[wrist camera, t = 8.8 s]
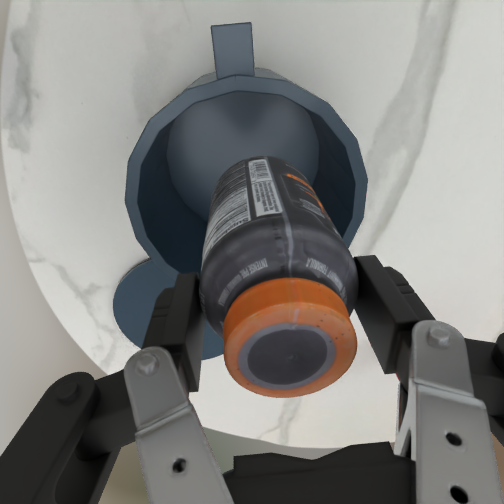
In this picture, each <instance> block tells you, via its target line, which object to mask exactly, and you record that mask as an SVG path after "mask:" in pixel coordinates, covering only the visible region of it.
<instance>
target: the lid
mask: <svg viewBox="0 0 504 504" xmlns="http://www.w3.org/2000/svg"><path fill="white" fill-rule="evenodd" d="M175 282H176V281H175V280H174V279H173V278H171V277H170V276H168V275H167V274H165V273H164V272H163V271H161V270H160V269H159V268H158V267H157V266H156V265H155V263H154V262H153V261H152V259H151V260H148V261H146V262H143V263H141V264H140V265H138V266H136V267H135V268H133V269H132V270H131V271H130V272H128V273H127V274H126V276H125V277H124V278H123V279H122V281H121V282H120V284H119V285H118V287H117V290H116V292H115V295H114V299H113V311H114V316H115V319H116V322H117V324H118V326H119V328H120V329H121V331H122V332H123V334H124V335H125V336H126V337H127V338H128V339H129V340H130V341H131V342H132V343H134V344H135V345H136V346H138V347H139V348H142V345H143V342H144V338H145V335H146V332H147V328H148V325H149V322H150V319H151V315H152V312H153V310H154V305H155V302H156V299H157V297H158V296H159V294H160V293H161V292H162V291H163V290H164V289H165V288H170V287H174V286H175ZM222 354H224V340H223V339H222V338H220V337H219V336H218V335H217V334H216V333H215V332H214V331H213V329H212V328H211V327H210V326H209V324H208V322H207V320H206V319H205V329H204V339H203V349H202V360H206V359H210V358H214V357H217V356H220V355H222Z"/></svg>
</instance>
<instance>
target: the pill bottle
mask: <svg viewBox="0 0 504 504" xmlns="http://www.w3.org/2000/svg"><path fill="white" fill-rule="evenodd" d="M358 289H359V279H358V272H357V268H356V265H355V262H354V259H353V257H352V255H351V253H350V251H349V250H348V248H347V246H346V244H345V243H344V241H343V240H342V238H341V236H340V234H339V232H338V231H337V229H336V227H335V226H334V224H333V222H332V221H331V219H330V218H329V216H328V214H327V213H326V211H325V209H324V207H323V205H322V203H321V202H320V200H319V199H318V197H317V195H316V194H315V192H314V190H313V189H312V187H311V185H310V183H309V182H308V180H307V178H306V177H305V176H304V174H303V173H302V172H301V171H300V170H299V169H298V168H296V167H295V166H294V165H292V164H290V163H289V162H287V161H285V160H282V159H280V158H276V157H272V156H256V157H250V158H247V159H244V160H241V161H240V162H238V163H236V164H234V165H233V166H231V167H230V168H229V169H227V170H226V171H225V172H224V173H223V175H222V176H221V177H220V179H219V180H218V182H217V183H216V185H215V187H214V190H213V193H212V196H211V203H210V210H209V217H208V225H207V232H206V237H205V243H204V248H203V255H202V268H201V275H200V283H199V299H200V305H201V308H202V311H203V314H204V316H205V318H206V320H207V322H208V324H209V326H210V327H211V328H212V329H213V331H214V332H215V333H216V334H217V335H218V336H219V337H220V338H222V339H223V340H224V360H225V365H226V367H227V370H228V371H229V373H230V375H231V376H232V378H233V379H234V380H235V381H236V382H237V383H238V384H239V385H241V386H242V387H244V388H246V389H248V390H249V391H252V392H254V393H256V394H260V395H263V396H268V397H276V398H289V397H298V396H302V395H307V394H311V393H314V392H317V391H319V390H321V389H323V388H325V387H327V386H329V385H331V384H332V383H334V382H335V381H336V380H338V379H339V378H340V377H341V376H342V375H343V374H344V373H345V372H346V371H347V370H348V369H349V367H350V366H351V364H352V362H353V360H354V358H355V355H356V351H357V337H356V333H355V330H354V327H353V325H352V323H351V321H350V318H349V317H350V315H351V313H352V311H353V309H354V307H355V304H356V301H357V297H358Z"/></svg>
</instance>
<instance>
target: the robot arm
mask: <svg viewBox="0 0 504 504" xmlns="http://www.w3.org/2000/svg"><path fill="white" fill-rule="evenodd" d="M353 259H354V262H355V265H356V268H357V272H358V279H359V289H358V297H357V301H356V304H355V307H354V309H355V311H356V313H357V315H358V318H359V320H360V322H361V324H362V326H363V328H364V331H365V333H366V335H367V337H368V339H369V341H370V343H371V346H372V348H373V350H374V352H375V354H376V356H377V358H378V361H379V363H380V365H381V367H382V369H383V371H384V374H393V373H397V375H398V377H399V379H400V381H399V385H398V400H397V421H396V440H395V448H394V453H393V450H392V448H391V445H390V443H389V441H388V442H378V443H367V444H357V445H350V446H347V447H345V448H342V449H340V450H337V451H335V452H333V453H330V454H328V455H325V456H323V457H321V458H318V459H314V460H310V459H303V458H298V457H292V456H287V455H281V454H276V453H263V454H253V455H243V456H234V469H232V470H229V471H227V472H225V473H223V474H222V473H221V471H220V468H219V466H218V464H217V461H216V459H215V456H214V454H213V452H212V449H211V447H210V445H209V442H208V440H207V438H206V435H205V433H204V430H203V428H202V425H201V423H200V421H199V418H198V416H197V413H196V411H195V409H194V407H193V405H192V403H191V402H190V400H189V392H198V390H199V380H200V370H201V360H202V349H203V339H204V329H205V319H206V318H205V316H204V314H203V311H202V308H201V305H200V299H199V283H200V278H199V274H198V272H189V273H179V274H178V275H177V278H176V282H175V286H174V287H170V288H165V289H164V290H163V291H162V292H161V293H160V294H159V296H158V297H157V299H156V302H155V305H154V310H153V312H152V315H151V319H150V322H149V325H148V328H147V332H146V335H145V338H144V342H143V345H142V348H141V350H140V351H138V352H137V353H135V354H134V355H133V356H132V357H131V358H130V359H129V360H128V361H127V363H126V365H125V367H124V369H123V370H121V371H119V372H116V373H114V374H111V375H108V376H106V377H103V378H100V379H98V380H94V378H93V377H92V376H91V375H90V374H89V373H86V372H75V373H71V374H68V375H66V376H64V377H62V378H60V379H59V380H57V381H56V382H55V383H54V384H52V385H51V386H50V387H49V388H48V389H47V391H46V392H45V393H44V395H43V396H42V398H41V399H40V401H39V402H38V404H37V405H36V406H35V408H34V409H33V411H32V412H31V413H30V415H29V417H28V418H27V419H26V421H25V422H24V424H23V425H22V426H21V428H20V429H19V431H18V432H17V434H16V435H15V436H14V438H13V439H12V441H11V442H10V444H9V445H8V446H7V448H6V449H5V451H4V452H3V454H2V455H1V456H0V504H98V502H99V500H100V498H101V495H102V493H103V490H104V488H105V485H106V483H107V481H108V478H109V476H110V473H111V471H112V468H113V466H114V464H115V461H116V459H117V456H118V454H119V452H120V449H121V447H123V446H125V445H128V444H130V443H132V442H135V441H136V445H137V449H138V453H139V458H140V463H141V467H142V471H143V476H144V480H145V484H146V489H147V494H148V498H149V502H150V504H504V499H503V494H502V489H501V483H500V478H499V473H498V467H497V462H496V457H495V451H494V447H493V441H492V436H491V432H492V433H493V434H494V436H495V437H496V438H497V439H498V440H499V442H500V443H501V444H502V445H503V446H504V333H502V334H500V335H499V337H498V339H497V341H496V343H492V342H486V341H479V340H472V339H467V338H464V337H463V336H462V334H461V333H460V332H459V331H458V330H457V329H455V328H454V327H452V326H451V325H449V324H446V323H444V322H441V321H436V319H435V318H434V317H433V315H432V314H431V313H430V311H429V310H428V309H427V307H426V306H425V305H424V303H423V302H422V301H421V299H420V298H419V297H418V295H417V294H416V293H415V292H414V290H413V289H412V287H411V286H410V285H409V283H408V282H407V280H406V279H405V278H404V276H403V275H402V274H401V273H399V272H398V271H396V270H395V269H393V268H392V267H383V266H382V264H381V263H380V261H379V260H378V258H377V257H376V256H375V255H369V256H358V257H354V258H353Z"/></svg>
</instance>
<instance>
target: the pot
mask: <svg viewBox="0 0 504 504" xmlns="http://www.w3.org/2000/svg"><path fill="white" fill-rule="evenodd" d="M211 34H212V43H213V51H214V59H215V68H216V72H213V73H209V74H206V75H203V76H201V77H200V78H199V79H198V80H196V81H195V82H194V83H193V84H192V85H190V86H189V87H188V88H187V89H185V90H184V91H183V92H182V93H181V94H179V95H178V96H177V97H176V98H175V99H173V100H172V101H171V102H170V103H169V104H167V105H166V106H165V107H164V108H163V109H161V110H160V111H159V112H158V113H157V114H155V115H154V116H153V117H152V118H151V119H150V120H149V121H148V123H147V125H146V127H145V128H144V130H143V132H142V134H141V136H140V138H139V140H138V142H137V144H136V146H135V148H134V150H133V152H132V153H131V155H130V157H129V160H128V166H127V179H126V191H125V205H126V208H127V211H128V214H129V218H130V221H131V224H132V227H133V230H134V234H135V237H136V239H137V241H138V242H139V243H140V245H141V246H142V247H143V249H144V250H145V251H146V253H147V254H148V255H149V257H150V258H151V259H152V261H153V262H154V263H155V265H156V266H157V267H158V268H159V269H160V270H161V271H163V272H164V273H165V274H167V275H168V276H170V277H171V278H173V279H174V280H175V281H176V278H177V275H178V274H179V273H189V272H198V274H199V278H200V275H201V268H202V255H203V248H204V243H205V237H206V232H207V225H208V217H209V210H210V203H211V196H212V193H213V190H214V187H215V185H216V183H217V182H218V180H219V179H220V177H221V176H222V175H223V173H224V172H225V171H226V170H227V169H229V168H230V167H231V166H233V165H234V164H236V163H238V162H240V161H241V160H244V159H247V158H250V157H256V156H272V157H276V158H280V159H282V160H285V161H287V162H289V163H290V164H292V165H294V166H295V167H296V168H298V169H299V170H300V171H301V172H302V173H303V174H304V176H305V177H306V178H307V180H308V182H309V183H310V185H311V187H312V189H313V190H314V192H315V194H316V195H317V197H318V199H319V200H320V202H321V203H322V205H323V207H324V209H325V211H326V213H327V214H328V216H329V218H330V219H331V221H332V222H333V224H334V226H335V227H336V229H337V231H338V232H339V234H340V236H341V238H342V240H343V241H344V243H345V244H346V246H347V248H349V246H350V244H351V242H352V240H353V238H354V236H355V234H356V232H357V230H358V228H359V226H360V224H361V222H362V220H363V218H364V209H365V201H366V192H367V183H368V178H367V174H366V170H365V167H364V163H363V159H362V156H361V152H360V148H359V144H358V141H357V139H356V137H355V136H354V135H353V133H352V132H351V131H350V130H349V128H348V127H347V126H346V125H345V123H344V122H343V121H342V119H341V118H340V117H339V116H338V114H337V113H336V112H335V110H334V109H333V108H332V107H331V105H330V104H329V103H327V102H326V101H324V100H322V99H320V98H319V97H317V96H315V95H313V94H312V93H310V92H308V91H307V90H305V89H303V88H301V87H300V86H298V85H296V84H294V83H292V82H291V81H289V80H287V79H285V78H283V77H282V76H280V75H278V74H276V73H274V72H273V71H271V70H268V69H260V68H254V54H253V38H252V24H251V22H246V23H235V24H224V25H213V26H211Z"/></svg>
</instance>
